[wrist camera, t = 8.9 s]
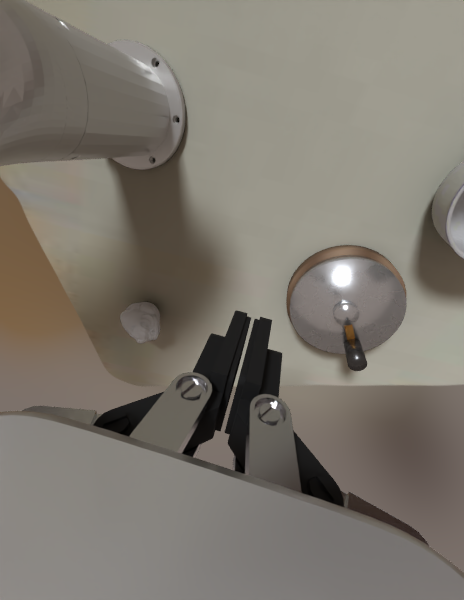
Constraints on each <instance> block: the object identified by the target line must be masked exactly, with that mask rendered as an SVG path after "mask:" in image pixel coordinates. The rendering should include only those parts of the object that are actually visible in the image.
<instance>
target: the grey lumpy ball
mask: <svg viewBox="0 0 464 600" xmlns="http://www.w3.org/2000/svg"><path fill="white" fill-rule="evenodd" d="M120 321H121V324H122V325H123V327H124V329H125V330H126V331H127V332H128V334H129V335H130V336H131V337H133V338H135V340H136V341H137V343H145V342H146V341H151V340H156V339H157V337H158V335H159V333H160V324H159V321H160V313H159V310H158V309H157V307H156V306H155V305H153V304H152V303H149V302H140V303H133V304H131V305H129V306H128V307H127V308H126V311H124V312H122V313H121V315H120Z"/></svg>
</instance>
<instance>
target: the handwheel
mask: <svg viewBox="0 0 464 600" xmlns="http://www.w3.org/2000/svg"><path fill="white" fill-rule="evenodd" d="M405 312H406V296H405V292H404V289H403V287H402V285H401V283H400V282H399V280H398V279H397V277H396V276H395V275H394V274H393V272H392V271H391V270H390V269H389V268H387V267H386V266H385V265H383V264H382V263H380V262H378V261H376V260H374V259H371V258H368V257H365V256H359V255H341V256H335V257H331V258H328V259H325V260H323V261H321V262H318V263H317V264H315V265H313V266H312V267H311V268H309V269H308V270H307V271H306V272H305V273H304V274H303V275H302V276H301V277H300V278H299V279H298V281H297V282H296V284H295V286H294V288H293V291H292V294H291V298H290V317H291V321H292V324H293V326H294V328H295V330H296V331H297V333H298V334H299V335H300V336H301V337H302V338H303V339H304V340H305V341H306V342H308V343H309V344H310V345H312V346H314V347H316V348H318V349H320V350H323V351H326V352H331V353H337V354H346V358H347V363H348V366H349V368H350V369H352V370H354V371H361V370H363V369H365V368H366V366H367V361H366V358H365V355H364V351H366V350H369V349H372V348H374V347H376V346H378V345H380V344H382V343H383V342H385V341H386V340H387V339H389V338H390V337H391V336H392V335H393V334H394V333H395V332H396V331H397V329H398V328H399V326H400V325H401V323H402V321H403V319H404V316H405Z"/></svg>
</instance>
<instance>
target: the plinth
mask: <svg viewBox="0 0 464 600" xmlns="http://www.w3.org/2000/svg"><path fill="white" fill-rule="evenodd" d="M341 255H359V256H365V257H368V258H371V259H374V260H376V261H378V262H380V263H382V264H383V265H385V266H386V267H387V268H389V269H390V270H391V271H392V272H393V274H394V275H395V276H396V277H397V279H398V280H399V282H400V283H401V285H402V287H403V289H404V292H405V296H406V289H405V284H404V282H403V279H402V277H401V276H400V274H399V272H398V271H397V270H396V268H395V267H394V266H393V265H392V264H391V262H390V261H389V260H388V259H386V258H385V257H384V256H383V255H381V254H379V253H378V252H376V251H374V250H371V249H368V248H365V247H361V246H354V245H343V246H335V247H331V248H327V249H324V250H322V251H320V252H317V253H315V254H314V255H312V256H310V257H309V258H308V259H306V260H305V261H304V262H303V263H302V264H301V265H300V266H299V267H298V268H297V270H296V271H295V272H294V274H293V276H292V278H291V280H290V283H289V286H288V291H287V302H286V303H287V311H288V315H289V318H290V320H291V317H290V298H291V294H292V291H293V288H294V286H295V284H296V282H297V281H298V279H299V278H300V277H301V276H302V275H303V274H304V273H305V272H306V271H307V270H308V269H309V268H311V267H312V266H313V265H315V264H317V263H318V262H321V261H323V260H325V259H328V258H331V257H335V256H341ZM291 322H292V321H291Z"/></svg>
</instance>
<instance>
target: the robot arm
mask: <svg viewBox="0 0 464 600" xmlns="http://www.w3.org/2000/svg"><path fill="white" fill-rule="evenodd" d="M158 62H159V66H158V67H157V63H158ZM178 118H179V119H180V121H179V123H178V122H177V119H178ZM185 119H186V118H185V103H184V98H183V93H182V90H181V87H180V85H179V82H178V80H177V78H176V76H175V74H174V72H173V70H172V69H171V67H170V66H169V65H168V64H167V62H166V61H165V60H164V59H163V58H162V57H161V56H160V55H159V54H158V53H157V52H155V51H154V50H152V49H151V48H149V47H148V46H146V45H144V44H142V43H139V42H137V41H132V40H116V41H114V42H111V43H109V44H106V43H104V42H102V41H101V40H99V39H97V38H95V37H93V36H91V35H89V34H87V33H85V32H84V31H82V30H80V29H78V28H76V27H74V26H72V25H70V24H68V23H67V22H65V21H63V20H61V19H59V18H57V17H55V16H53V15H52V14H50V13H48V12H46V11H44V10H42V9H40V8H38V7H36V6H35V5H33V4H31V3H29V2H27V1H25V0H0V166H4V165H11V164H18V163H30V162H45V161H67V160H84V159H101V158H112V159H113V160H115V161H116V162H118V163H120V164H121V165H123V166H126V167H128V168H131V169H138V170H144V169H151V168H155V167H158V166H160V165H162V164H164V163H165V162H166V161H167V160H169V159H170V158H171V157H172V155H173V154H174V153H175V152H176V150H177V148H178V146H179V144H180V142H181V140H182V136H183V133H184V128H185ZM154 158H155V160H156V162H155V161H154ZM250 320H251V318H250V317H247V313H244V312H240V311H235V313H234V316H233V318H232V321H231V324H230V326H229V329H228V331H227V334H226V336H225V337H223V336H220V335H216V334H211V335H210V337H209V339H208V341H207V343H206V345H205V347H204V349H203V352H202V354H201V356H200V358H199V360H198V362H197V364H196V366H195V368H194V370H193V372H188V373H183V374H181V375H179V376H177V377H176V378H175V379H174V380H173V381H172V383H171V384H170V385H169V387H168V388H167V389H166V391H165V392H162V393H159V394H156V395H153V396H150V397H147V398H144V399H141V400H138V401H135V402H132V403H130V404H127V405H124V406H121V407H118V408H115V409H112V410H110V411H108V412H105V413H104V414H97V412H96V411H95V410H84V409H72V408H60V407H48V406H33V407H30V408H27V409H24V410H22V411H8V412H7V411H5V412H0V600H464V572H462V571H461V570H460V569H459V568H458V567H457V566H455V565H454V564H453V563H452V562H450V561H449V560H448V559H446V558H445V557H443V556H442V555H441V554H439V553H438V552H437V551H435V550H434V549H433V548H431V547H430V546H429V545H428V543H427V541H426V540H425V539H424V538H423V537H422V535H421V534H420V533H419V532H418V531H416V530H415V529H414V528H412V527H411V526H409V525H408V524H406V523H404V522H402V521H401V520H399V519H397V518H395V517H394V516H392V515H390V514H388V513H386V512H385V511H383V510H381V509H379V508H377V507H376V506H374V505H372V504H370V503H368V502H367V501H365V500H363V499H361V498H360V497H358V496H356V495H354V494H353V493H351V492H348V494H346V493H344V492H342V491H340V488H339V487H338V485H337V484H336V482H335V481H334V479H333V478H332V477H331V476H330V475H329V473H328V472H327V471H326V470H325V469H324V467H323V466H322V465H321V464H320V463H319V461H318V460H317V459H316V458H315V456H314V455H313V454H312V453H311V452H310V450H309V449H308V448H307V447H306V445H305V444H304V443H303V442H302V441H301V439H300V438H299V437H298V436H297V434H296V433H295V432H294V431H293V426H292V419H291V413H290V410H289V408H288V406H287V405H286V403H284V402H283V401H282V400H281V399H279V398H278V396H279V385H280V373H281V362H282V353H280V352H277V351H273V350H270V349H267V348H268V342H269V336H270V330H271V324H272V320H270V319H266V318H262V317H260V320H258V319H255V320H254V324H253V328H252V332H251V335H250V339H249V343H248V347H247V350H246V354H245V358H244V362H243V365H242V369H241V373H240V377H239V380H238V384H237V388H236V392H235V395H234V399H233V403H232V407H231V411H230V414H229V418H228V422H227V426H226V430H225V433H227V434H230V436H229V440H228V445H229V446H230V448H231V450H232V451H233V453H234V459H233V470H230V469H227V468H224V467H221V466H218V465H215V464H212V463H209V462H206V461H202V460H199V459H196V458H195V457H196V455H197V453H198V451H199V449H200V446H201V444H202V443H204V442H206V441H208V440H210V439H212V438H213V436H214V432H215V430H217V431H221V427H222V423H223V420H224V416H225V413H226V409H227V406H228V402H229V399H230V395H231V392H232V388H233V385H234V381H235V378H236V374H237V370H238V367H239V363H240V359H241V355H242V351H243V348H244V344H245V340H246V336H247V332H248V328H249V324H250Z"/></svg>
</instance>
